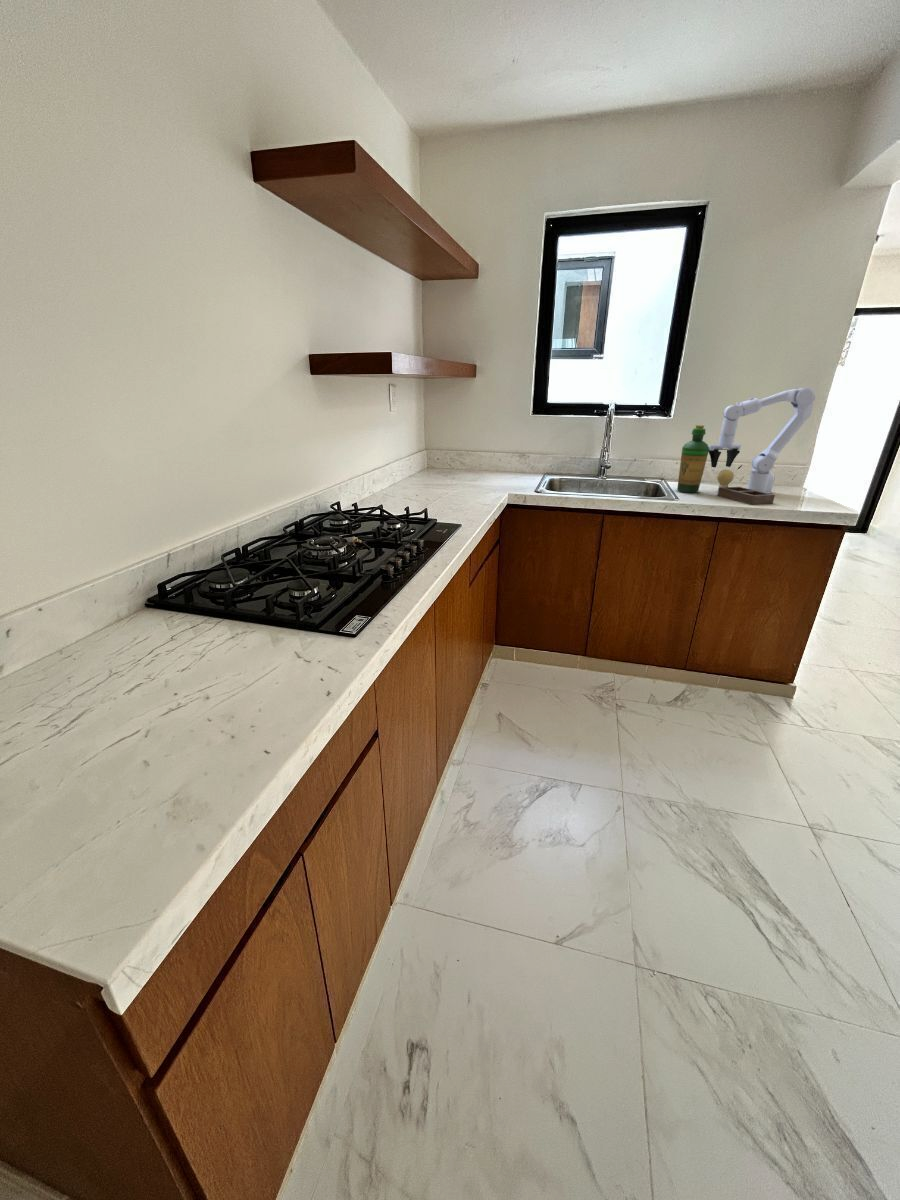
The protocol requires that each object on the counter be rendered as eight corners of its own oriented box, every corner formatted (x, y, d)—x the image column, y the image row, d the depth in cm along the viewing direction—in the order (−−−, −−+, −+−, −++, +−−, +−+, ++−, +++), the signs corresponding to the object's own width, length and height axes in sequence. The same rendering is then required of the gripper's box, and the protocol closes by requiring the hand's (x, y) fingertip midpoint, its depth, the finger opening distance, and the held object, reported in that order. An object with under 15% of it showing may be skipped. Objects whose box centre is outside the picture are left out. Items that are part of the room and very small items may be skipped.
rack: (737, 494, 217) (739, 486, 216) (772, 503, 200) (775, 494, 199) (717, 495, 215) (719, 487, 213) (751, 504, 198) (753, 495, 196)
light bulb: (726, 491, 224) (731, 468, 220) (732, 494, 218) (737, 470, 214) (711, 491, 224) (716, 468, 221) (717, 493, 219) (722, 470, 215)
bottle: (674, 492, 220) (686, 425, 209) (674, 488, 229) (686, 424, 218) (701, 494, 216) (714, 426, 206) (699, 490, 226) (713, 425, 215)
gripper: (720, 435, 211) (713, 468, 217) (748, 435, 215) (741, 467, 220) (708, 434, 218) (702, 466, 223) (736, 434, 221) (729, 465, 226)
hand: (720, 466), depth 222 cm, fingers open, 7 cm apart
